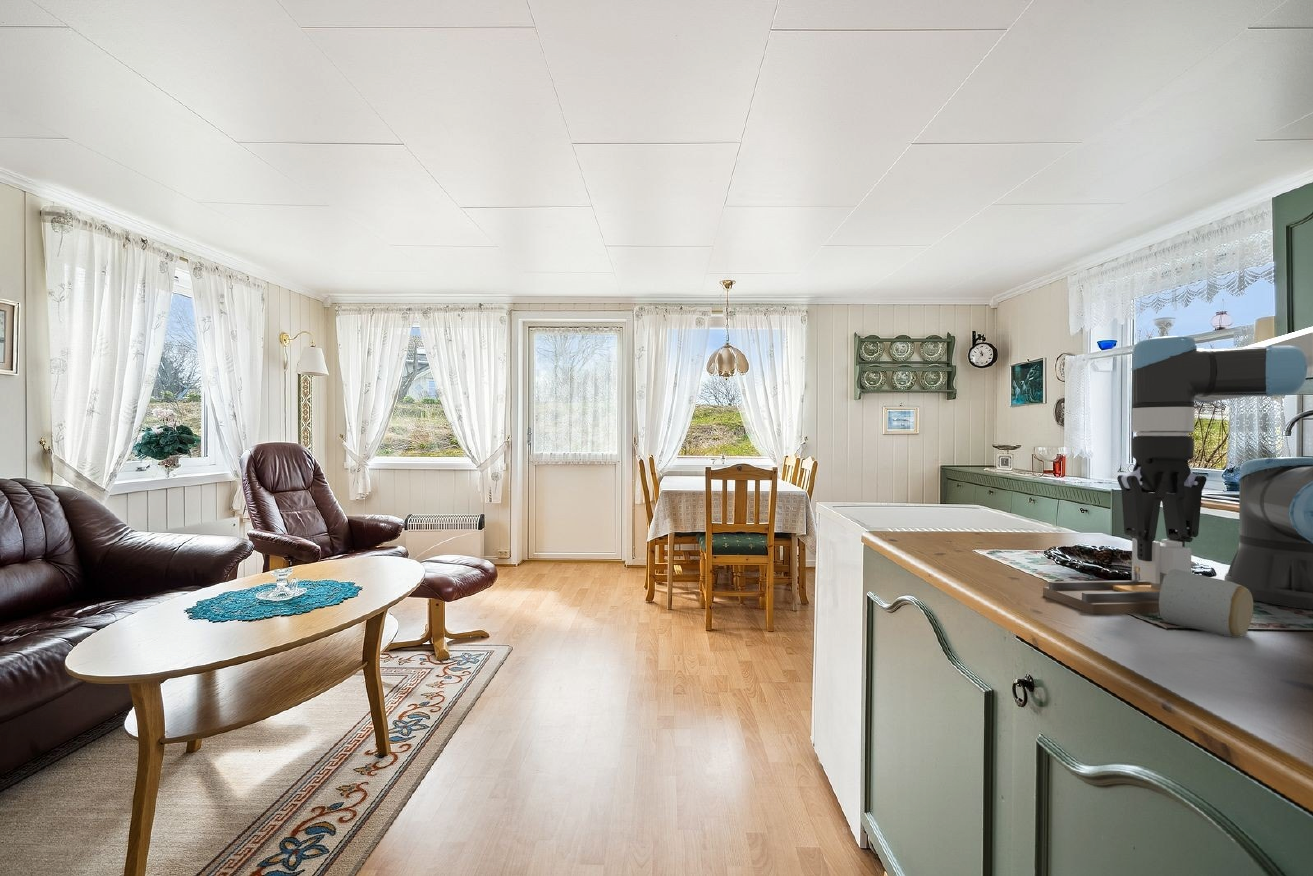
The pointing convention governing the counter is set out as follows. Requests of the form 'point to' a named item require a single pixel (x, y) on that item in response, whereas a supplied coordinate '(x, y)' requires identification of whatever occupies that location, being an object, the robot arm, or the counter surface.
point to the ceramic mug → (1205, 603)
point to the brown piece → (1104, 596)
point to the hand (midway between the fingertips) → (1160, 580)
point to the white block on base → (1161, 565)
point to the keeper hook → (1135, 570)
